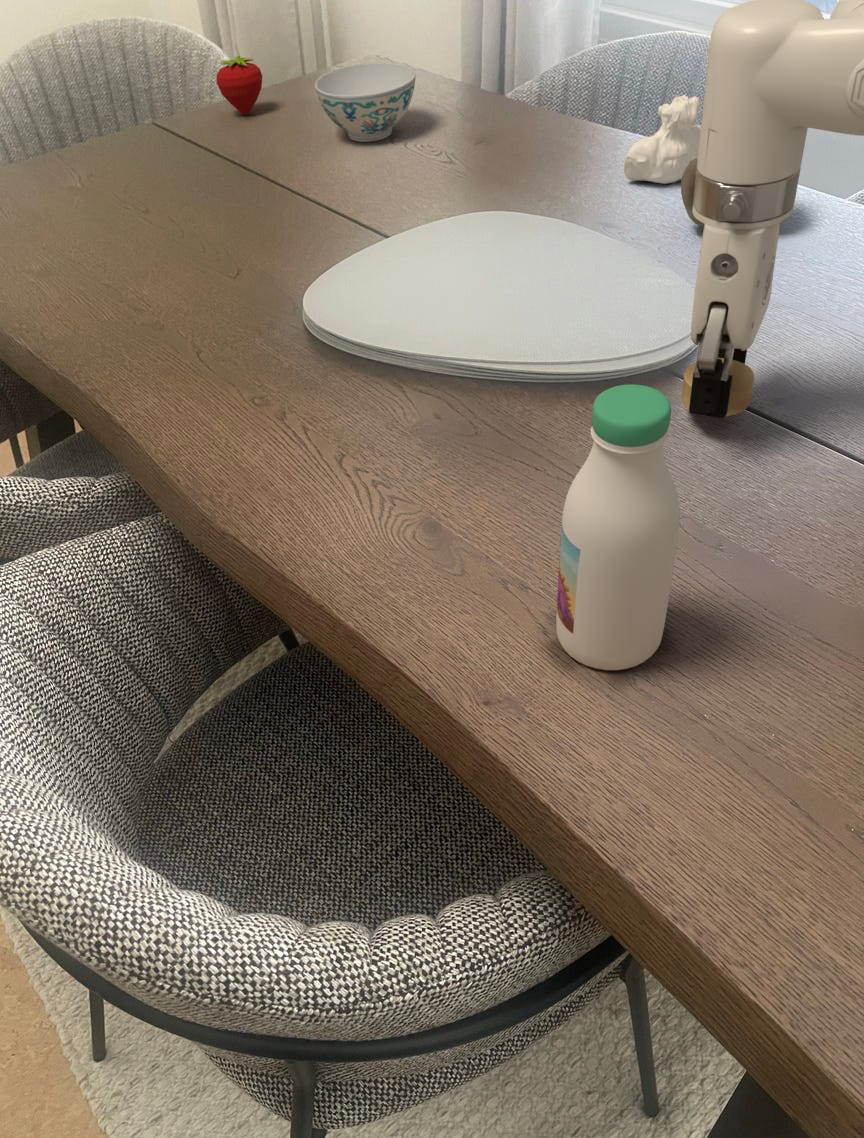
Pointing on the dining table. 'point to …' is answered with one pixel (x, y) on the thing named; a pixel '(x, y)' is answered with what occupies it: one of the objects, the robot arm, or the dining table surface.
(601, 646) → the milk bottle
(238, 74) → the strawberry
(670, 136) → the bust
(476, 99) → the dining table surface
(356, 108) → the chinaware
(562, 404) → the dining table surface
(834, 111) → the robot arm
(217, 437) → the dining table surface
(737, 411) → the tan short cylinder
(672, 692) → the dining table surface
